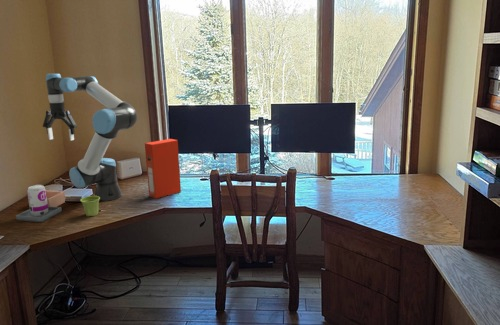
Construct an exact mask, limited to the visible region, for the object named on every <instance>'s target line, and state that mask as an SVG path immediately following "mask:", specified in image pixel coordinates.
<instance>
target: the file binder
mask: <svg viewBox="0 0 500 325" xmlns="http://www.w3.org/2000/svg"><path fill="white" fill-rule="evenodd" d="M144 148H145V150H144V151H145V152H144V154H145V164H146V175H147V187H148V196H149V197H150V198H152V199H154V200H155V199H156V200H157V199H160V197H161V198H163V197H167V195H168V196H170V195H174V194H177V193H181V192H182V189H181V188H182V186H181V175H180V174H181V173H180V171H181V170H180V160H179V159H180V156H179V140H178V139H173V138H167V139H162V140H161V139H160V140H156V141H150V142H144Z"/></svg>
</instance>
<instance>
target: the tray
mask: <svg viewBox="0 0 500 325" xmlns="http://www.w3.org/2000/svg"><path fill="white" fill-rule="evenodd" d="M48 210H49V212H48V213H47V214H46V215H44V216H40V217H34V216H32V215H31V212H30V208H29V209H27V210H24V211H23V212H20V213H19V214H16V215H15V219H16V221H24V222H34V223H44V222H45V221H48V220H50V219H51V218H53V217H54V216H56V215H58V214H60V213H62V212H63V211H62V207H61V206H57V207H50V206H48Z"/></svg>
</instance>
